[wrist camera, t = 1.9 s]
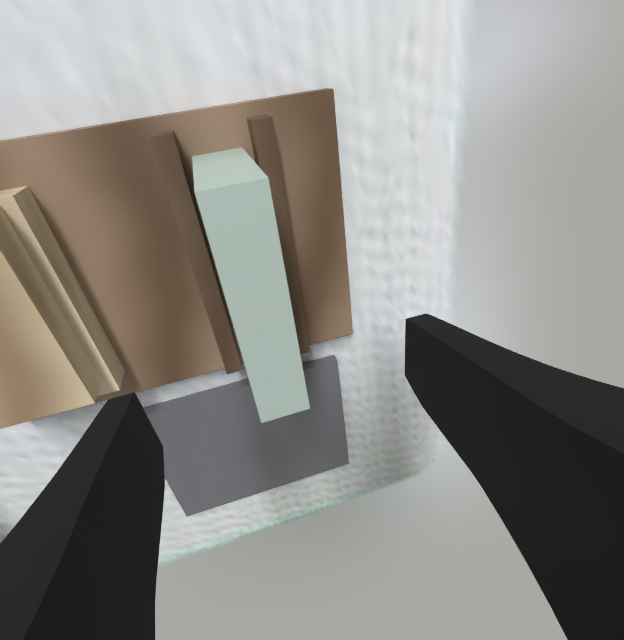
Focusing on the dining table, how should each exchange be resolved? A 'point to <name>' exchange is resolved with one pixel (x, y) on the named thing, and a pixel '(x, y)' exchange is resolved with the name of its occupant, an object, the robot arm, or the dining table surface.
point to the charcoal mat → (248, 440)
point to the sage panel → (252, 276)
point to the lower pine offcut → (62, 284)
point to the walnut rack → (188, 226)
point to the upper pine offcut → (36, 343)
